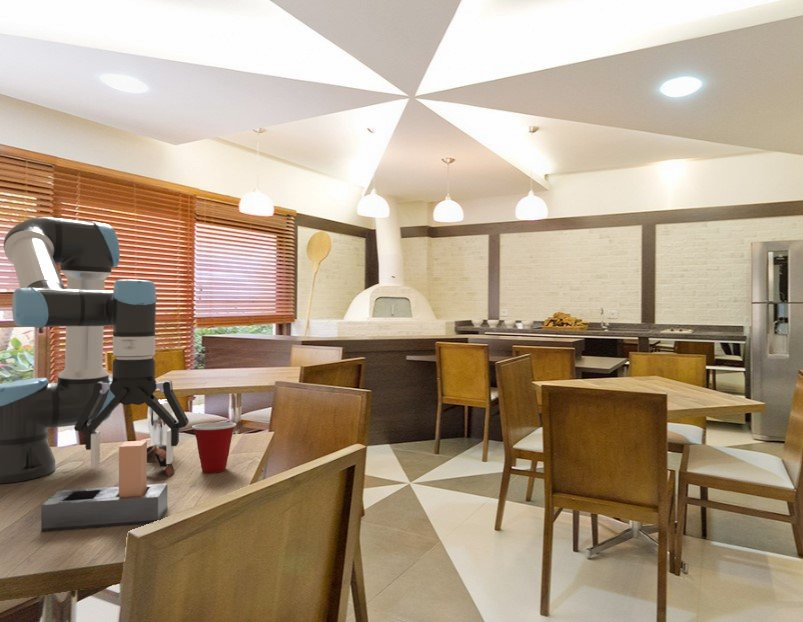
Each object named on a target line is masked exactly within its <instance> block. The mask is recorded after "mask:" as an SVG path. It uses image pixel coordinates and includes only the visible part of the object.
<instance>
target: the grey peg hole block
mask: <svg viewBox="0 0 803 622" xmlns="http://www.w3.org/2000/svg"><path fill="white" fill-rule="evenodd" d="M40 508H41V512H40V513H41V515H40V517H41V518H40V519H41V522H40V523H41V525H40V526H41V530H40V532H41V533H44V532H45V533H47V532H57V531H59V532H60V531H70V530H81V529H82V530H84V529H85V530H86V529H94V528H95V529H96V528H109V527H120V526H133V525H134V526H135V525H146V524H148V523H149V524H152V523H151V522H154V521H157V520H159V521H160V520H161V519H162V517H163V515H164V514H165V512H166V510H167V509H168V482H167V483H153V484H147V492H146V493H145V495H144V496H129V497H119V486H105V487H92V488H91V487H89V488H88V487H87V488H73V489H60V490H58V491H57V492H56V493H55V494H54V495H52V496H51V497H50V498H48V499H47V500H46V501H44V502H43V503H42V504H41V507H40ZM46 531H47V532H46Z"/></svg>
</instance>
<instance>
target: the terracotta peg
mask: <svg viewBox="0 0 803 622" xmlns="http://www.w3.org/2000/svg"><path fill="white" fill-rule="evenodd" d="M147 448H148V440H135V441H134V440H133V441H131V440H129V441H124V442H123V443H122V444H121V445H119V446H118V487H119V497H129V496H144V495H145V493H146V492H147V485H148V484H147V483H148V482H147V480H148V479H147V478H148V476H147V473H148V471H147V470H148V469H147V465H148V463H147Z"/></svg>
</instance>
